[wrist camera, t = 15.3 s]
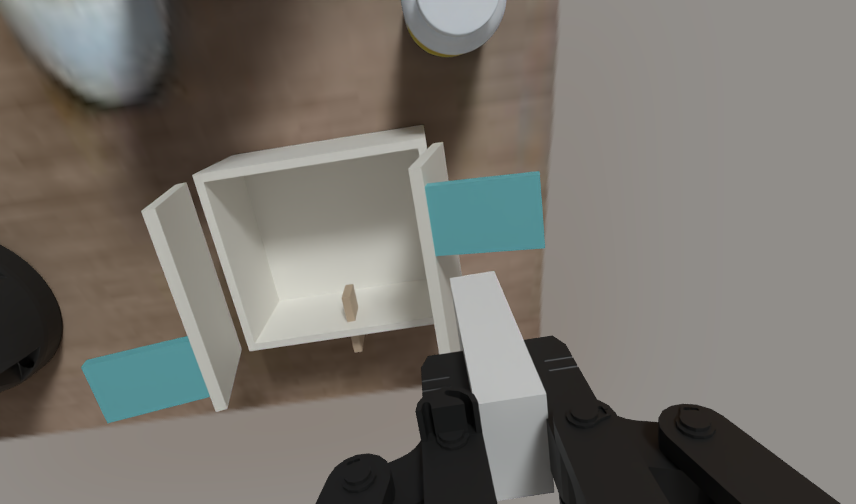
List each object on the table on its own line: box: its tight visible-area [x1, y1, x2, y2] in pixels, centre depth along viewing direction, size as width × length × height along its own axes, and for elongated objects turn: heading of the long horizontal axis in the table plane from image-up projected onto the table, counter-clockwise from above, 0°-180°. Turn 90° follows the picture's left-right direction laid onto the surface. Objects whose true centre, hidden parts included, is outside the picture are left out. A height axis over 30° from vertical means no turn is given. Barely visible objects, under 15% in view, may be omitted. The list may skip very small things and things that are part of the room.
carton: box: [192, 125, 434, 353], centre depth 40 cm, size 16×16×8 cm
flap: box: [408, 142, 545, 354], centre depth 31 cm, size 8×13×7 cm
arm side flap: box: [81, 182, 242, 423], centre depth 32 cm, size 8×13×7 cm
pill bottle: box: [401, 0, 506, 57], centre depth 32 cm, size 6×6×12 cm
